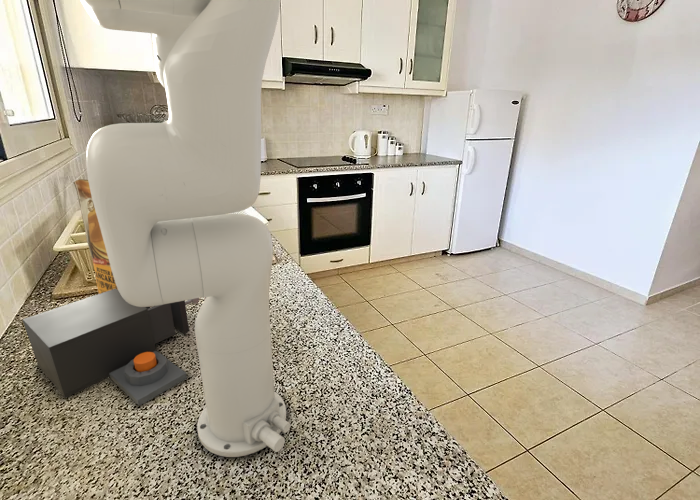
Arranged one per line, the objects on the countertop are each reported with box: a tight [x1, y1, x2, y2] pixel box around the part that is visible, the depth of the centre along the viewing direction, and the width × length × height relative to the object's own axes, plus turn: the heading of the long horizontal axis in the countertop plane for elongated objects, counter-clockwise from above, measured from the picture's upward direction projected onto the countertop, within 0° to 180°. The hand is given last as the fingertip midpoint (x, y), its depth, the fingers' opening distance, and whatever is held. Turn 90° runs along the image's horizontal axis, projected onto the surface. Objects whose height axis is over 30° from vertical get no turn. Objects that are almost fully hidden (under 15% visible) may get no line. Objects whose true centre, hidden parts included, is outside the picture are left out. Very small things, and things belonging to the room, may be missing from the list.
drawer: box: [145, 298, 200, 345], centre depth 73 cm, size 18×11×8 cm, turn 143°
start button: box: [134, 352, 157, 372], centre depth 62 cm, size 3×3×2 cm
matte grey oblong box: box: [21, 288, 157, 399], centre depth 66 cm, size 15×13×10 cm
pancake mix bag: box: [72, 178, 118, 294], centre depth 82 cm, size 7×19×28 cm, turn 65°
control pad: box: [109, 350, 188, 406], centre depth 63 cm, size 10×8×3 cm
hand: (204, 266), depth 82 cm, fingers closed
